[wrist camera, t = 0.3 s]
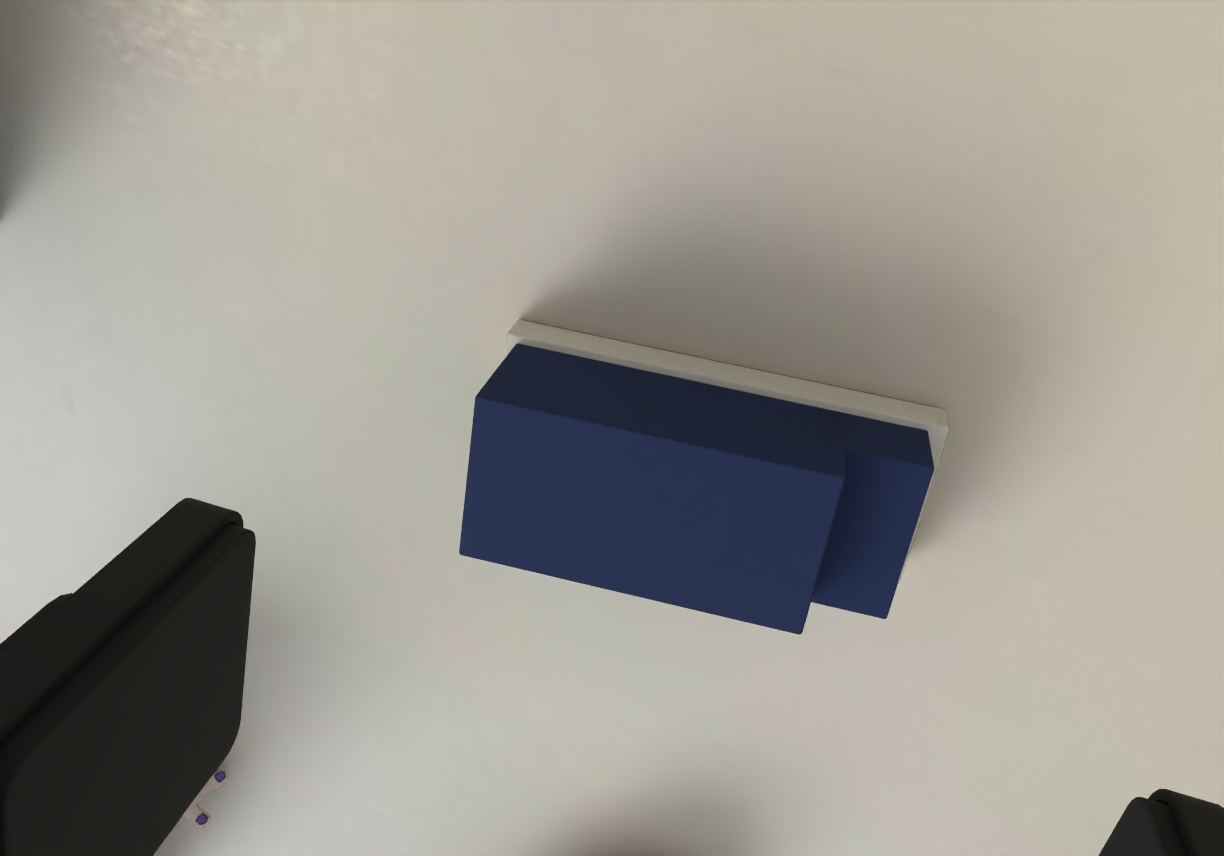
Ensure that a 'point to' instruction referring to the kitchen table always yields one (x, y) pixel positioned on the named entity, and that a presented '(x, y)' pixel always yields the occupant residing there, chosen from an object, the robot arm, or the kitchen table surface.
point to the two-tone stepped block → (694, 479)
